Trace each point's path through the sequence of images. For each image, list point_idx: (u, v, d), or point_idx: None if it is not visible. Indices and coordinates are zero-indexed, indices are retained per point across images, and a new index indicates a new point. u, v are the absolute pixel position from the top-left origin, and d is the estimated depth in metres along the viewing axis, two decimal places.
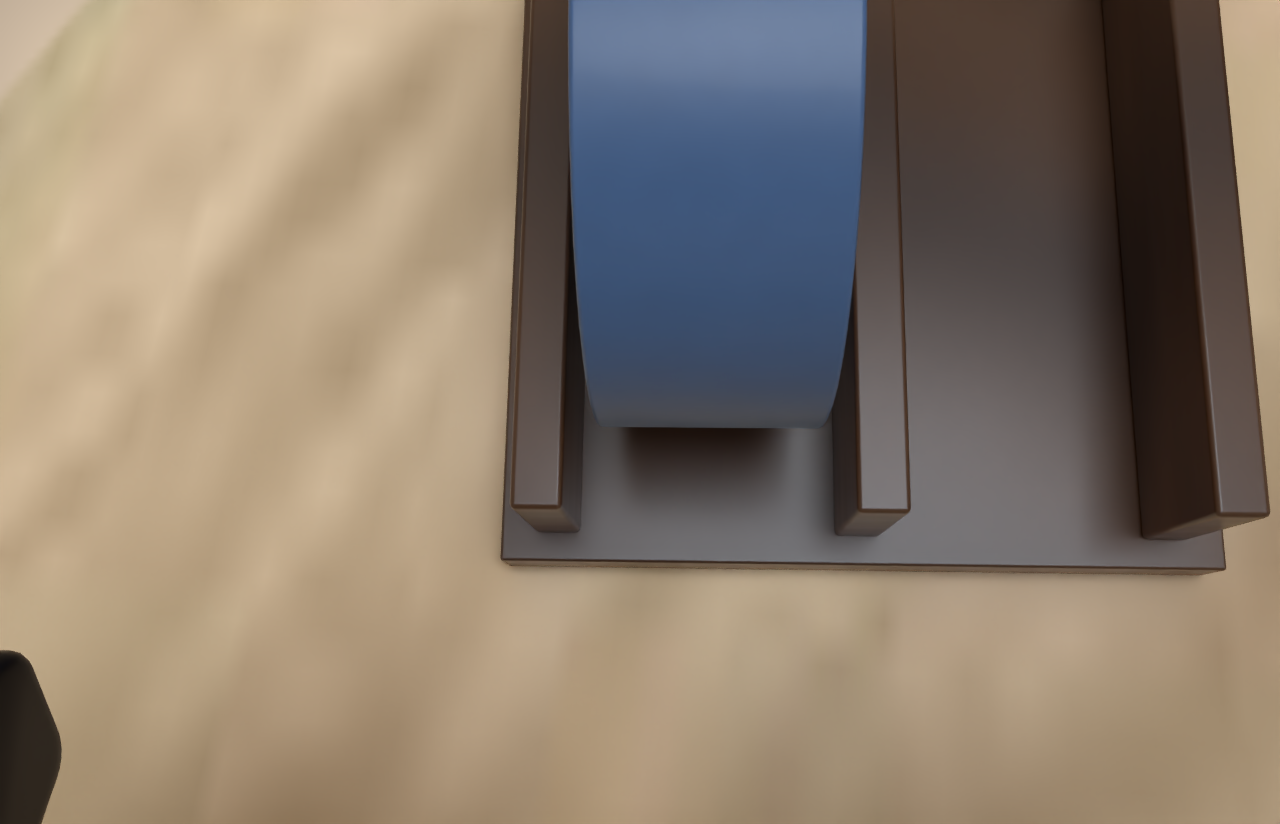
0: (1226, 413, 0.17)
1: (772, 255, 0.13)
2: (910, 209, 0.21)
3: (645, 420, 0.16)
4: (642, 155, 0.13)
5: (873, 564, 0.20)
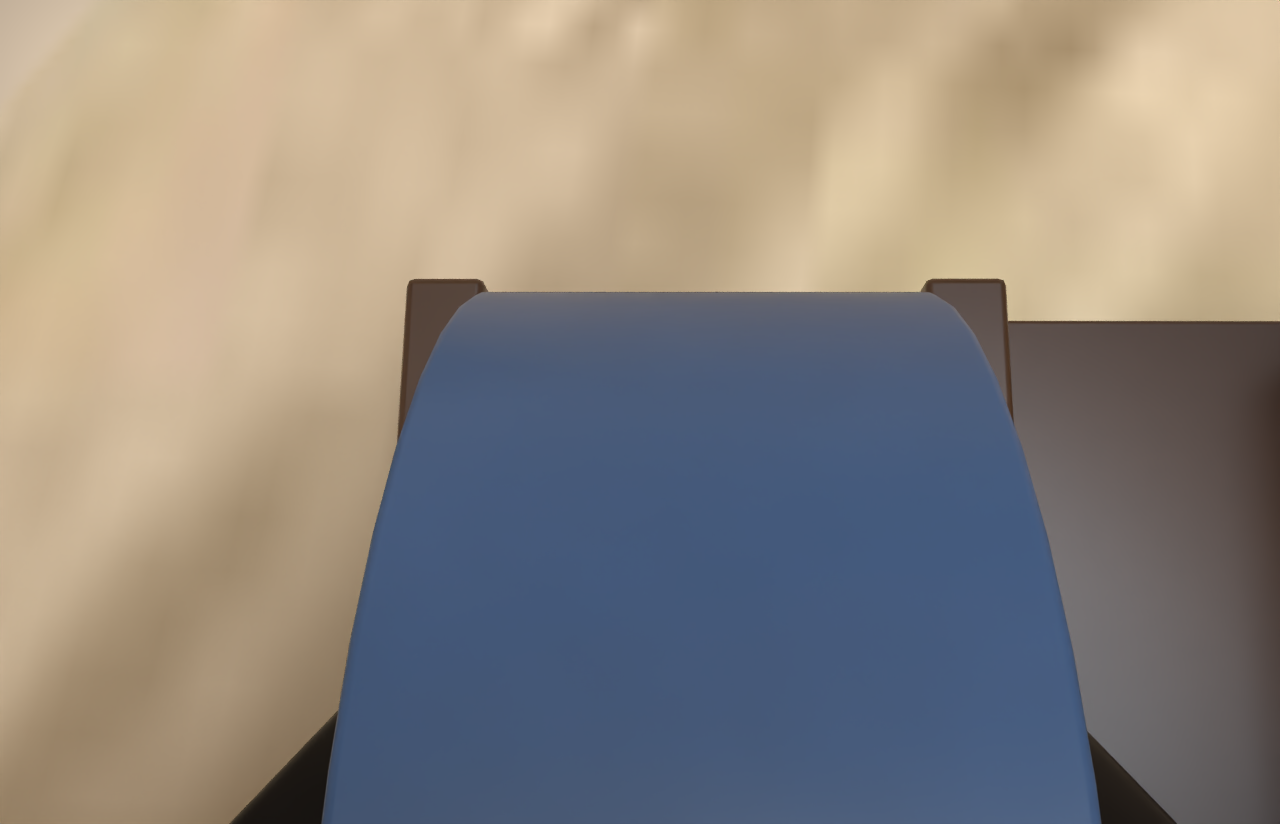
0: None
1: None
2: None
3: None
4: None
5: None
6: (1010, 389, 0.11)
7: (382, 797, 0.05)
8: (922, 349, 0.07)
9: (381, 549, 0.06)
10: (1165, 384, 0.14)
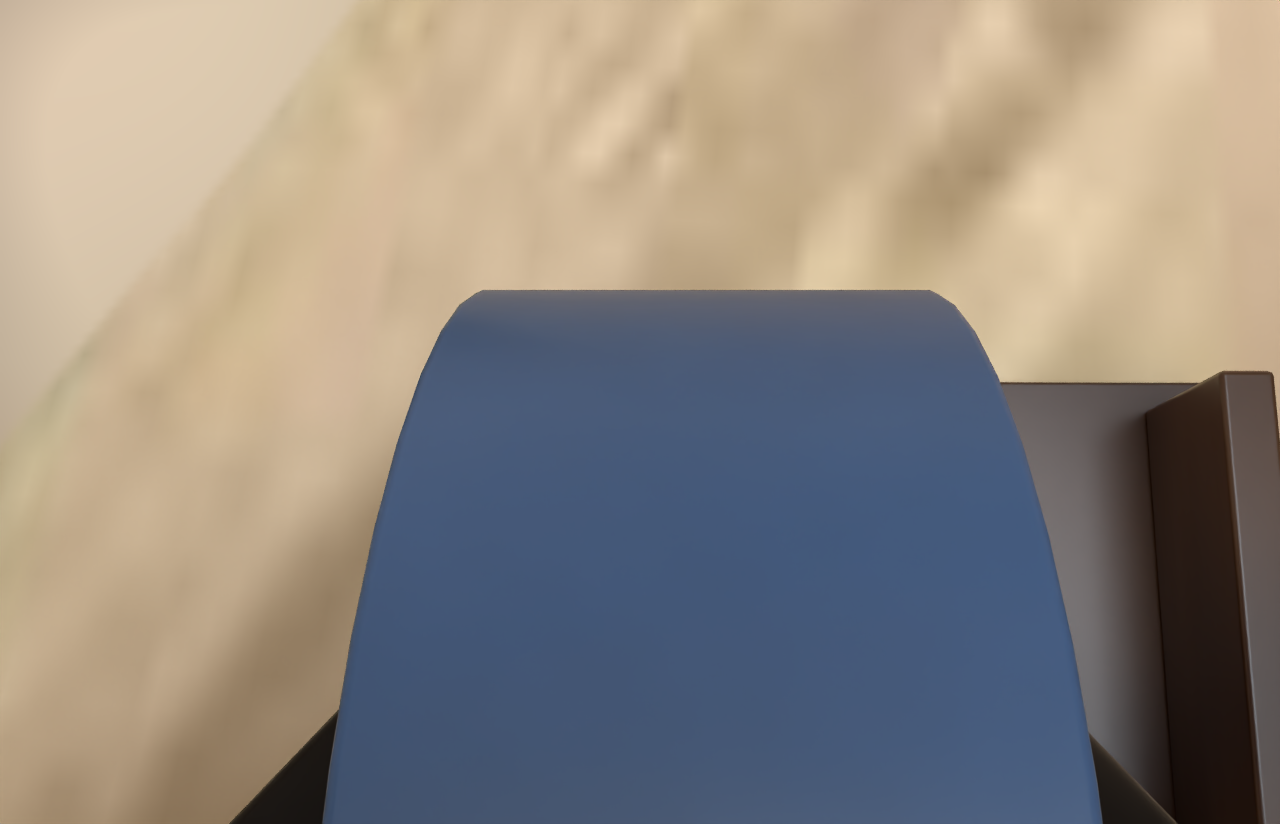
0: None
1: None
2: None
3: None
4: None
5: None
6: None
7: (383, 794, 0.05)
8: (922, 346, 0.07)
9: (382, 546, 0.06)
10: (1042, 428, 0.20)
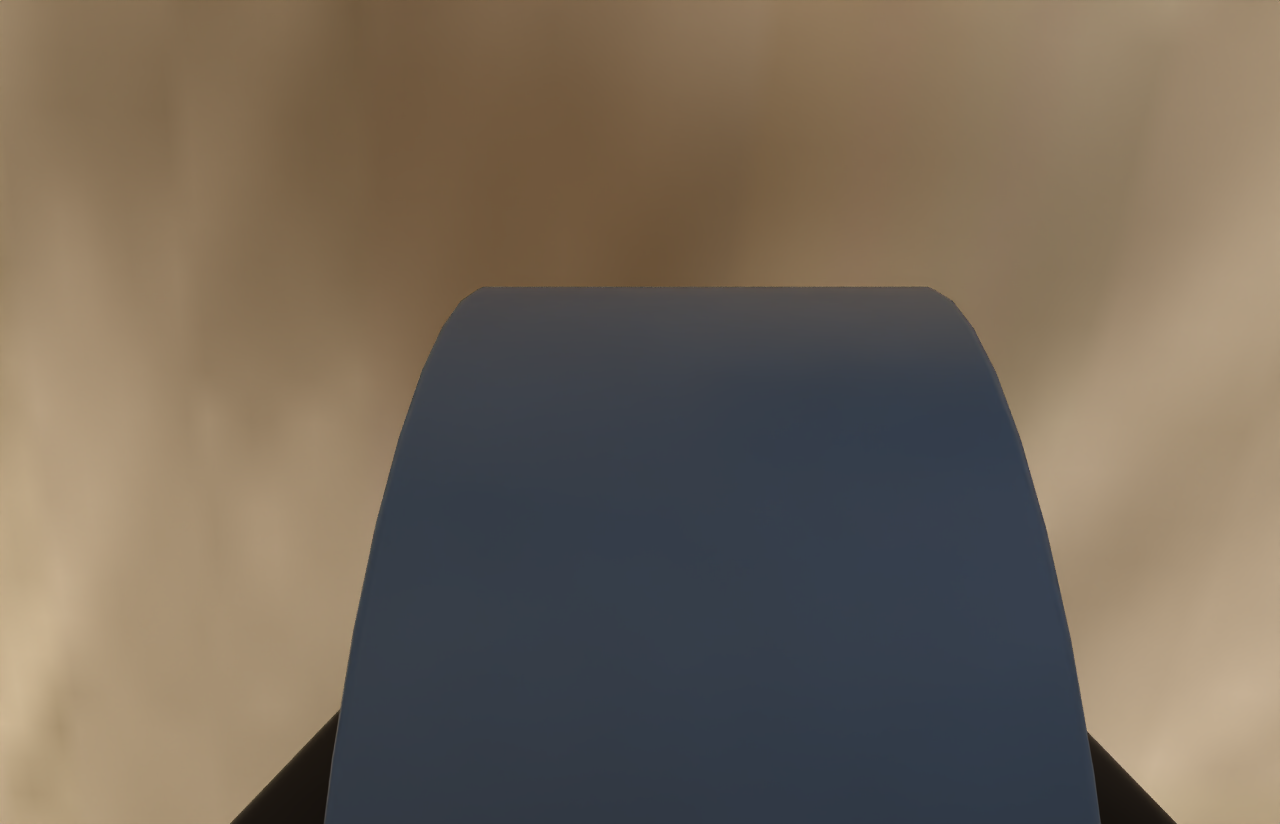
0: None
1: None
2: None
3: None
4: None
5: None
6: None
7: (386, 784, 0.05)
8: (921, 342, 0.07)
9: (384, 540, 0.06)
10: None
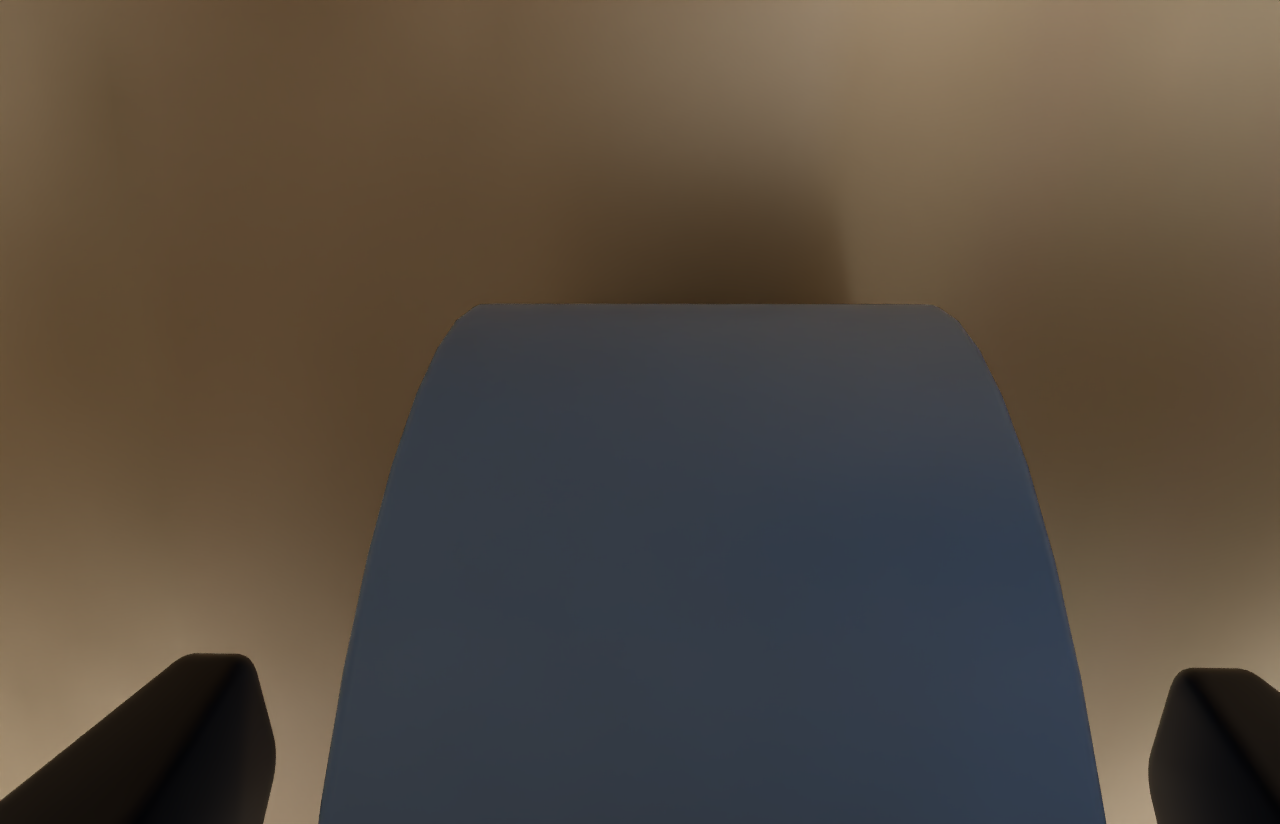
0: None
1: None
2: None
3: None
4: None
5: None
6: None
7: None
8: (926, 365, 0.07)
9: (376, 572, 0.05)
10: None
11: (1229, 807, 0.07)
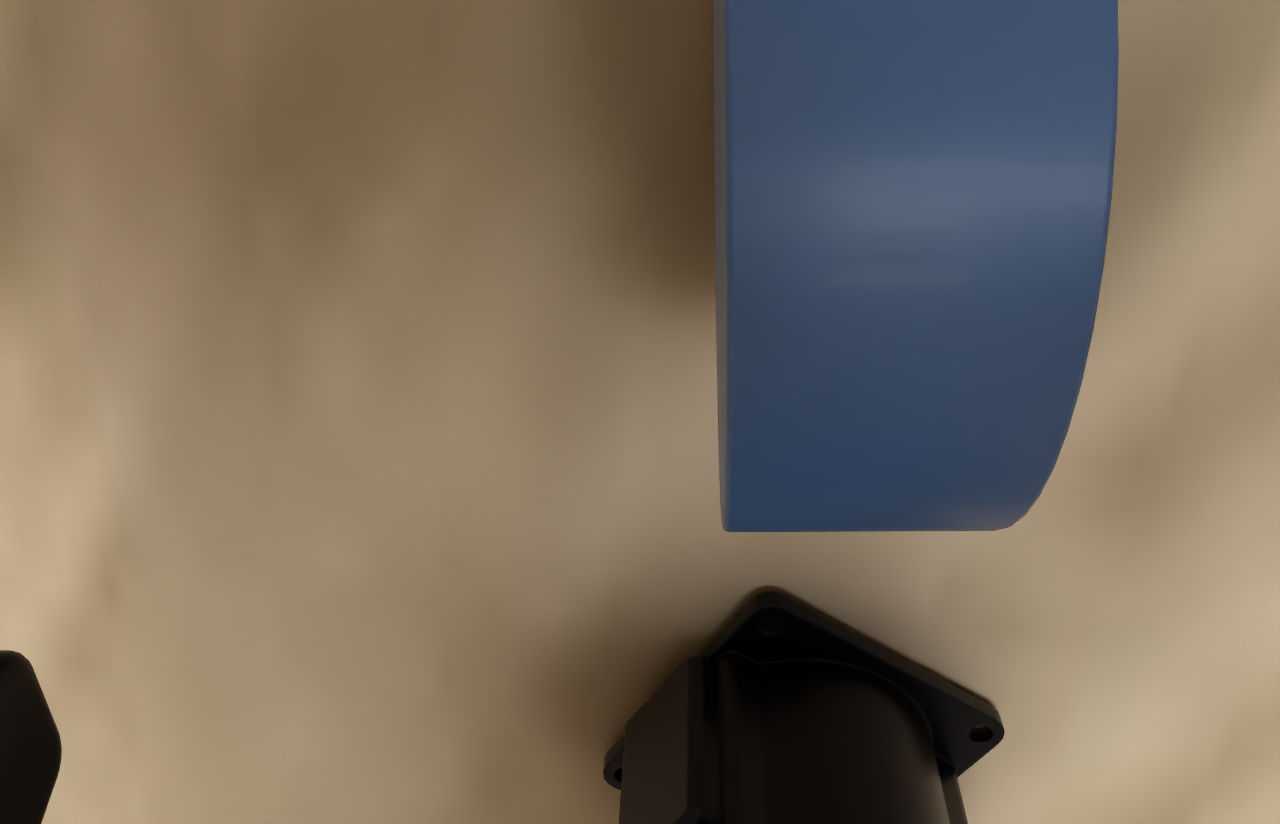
0: None
1: (984, 343, 0.10)
2: None
3: (787, 528, 0.13)
4: (822, 221, 0.10)
5: None
6: None
7: None
8: None
9: None
10: None
11: None
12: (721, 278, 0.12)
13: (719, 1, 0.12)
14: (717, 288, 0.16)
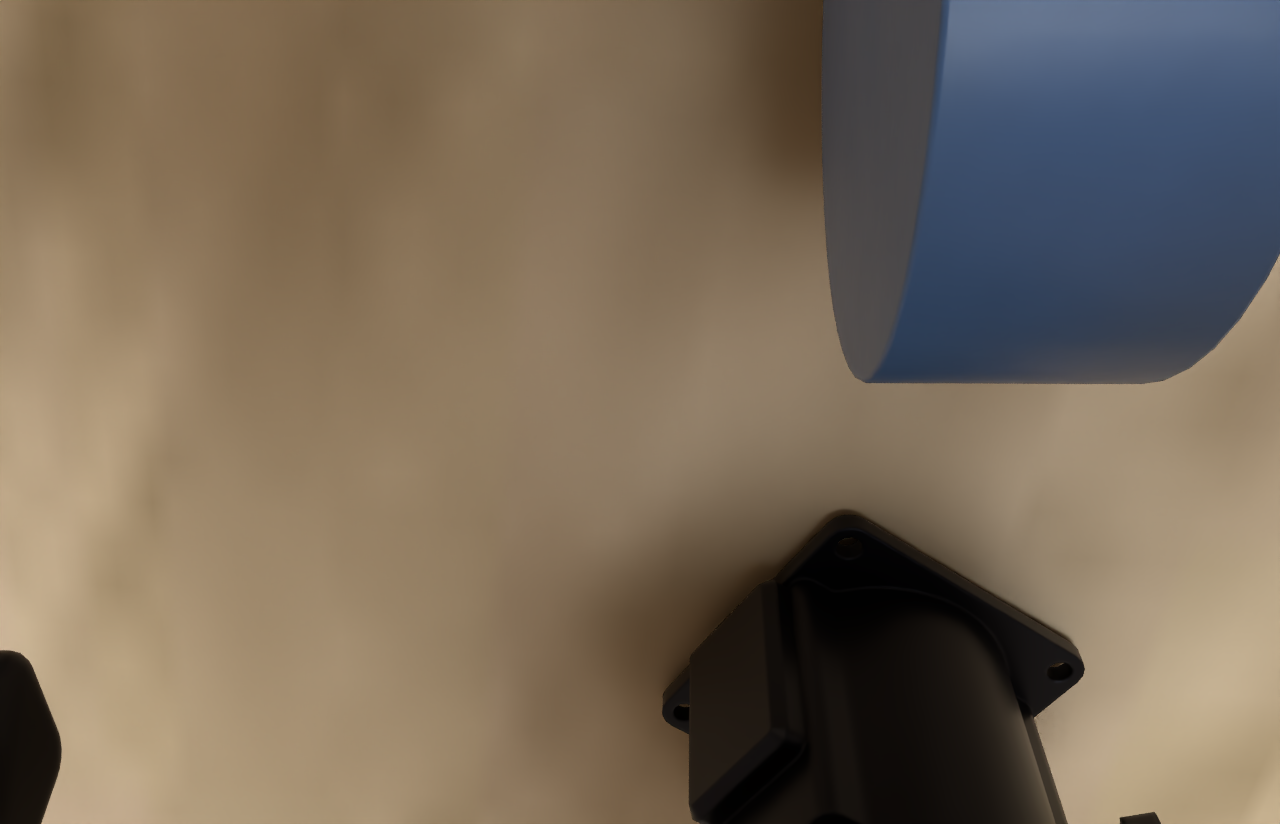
0: None
1: (1218, 115, 0.09)
2: None
3: (946, 368, 0.12)
4: None
5: None
6: None
7: None
8: None
9: None
10: None
11: None
12: (887, 86, 0.12)
13: None
14: (841, 145, 0.15)
